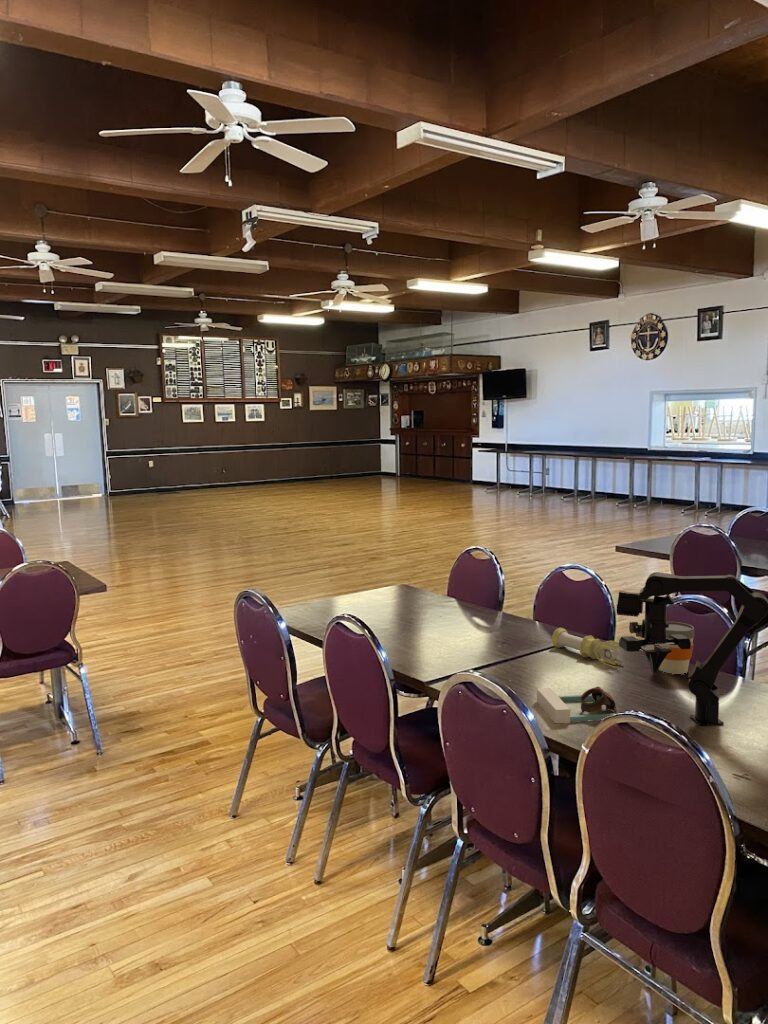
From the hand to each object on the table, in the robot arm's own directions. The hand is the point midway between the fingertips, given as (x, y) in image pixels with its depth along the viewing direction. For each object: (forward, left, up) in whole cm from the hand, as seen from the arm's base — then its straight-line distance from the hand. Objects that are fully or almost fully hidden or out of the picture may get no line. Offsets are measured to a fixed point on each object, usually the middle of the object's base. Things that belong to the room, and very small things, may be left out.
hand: (654, 672), depth 207 cm
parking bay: (+5, +20, -12) cm, 24 cm away
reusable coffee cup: (+35, -24, -12) cm, 44 cm away
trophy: (+53, -2, -12) cm, 55 cm away
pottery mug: (+3, +15, -12) cm, 19 cm away
